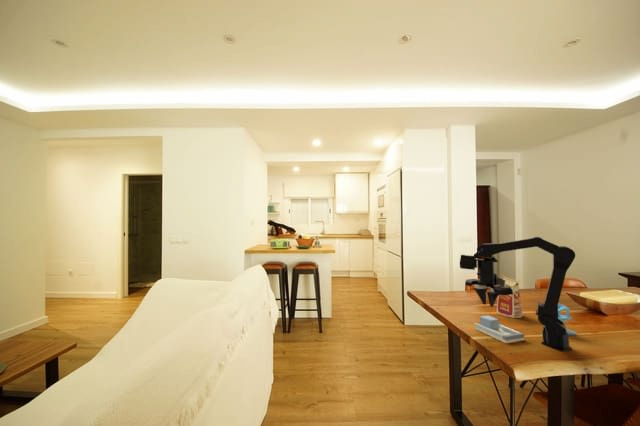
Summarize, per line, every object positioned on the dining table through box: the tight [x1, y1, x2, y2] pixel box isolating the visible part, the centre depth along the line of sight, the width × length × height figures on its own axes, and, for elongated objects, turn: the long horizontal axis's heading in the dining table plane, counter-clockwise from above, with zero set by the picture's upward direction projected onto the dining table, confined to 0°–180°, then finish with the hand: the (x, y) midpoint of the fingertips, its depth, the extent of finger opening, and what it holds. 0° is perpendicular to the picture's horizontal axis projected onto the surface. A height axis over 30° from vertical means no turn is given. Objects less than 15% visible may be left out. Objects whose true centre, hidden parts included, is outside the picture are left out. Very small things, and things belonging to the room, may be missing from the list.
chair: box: [558, 303, 577, 336], centre depth 104 cm, size 8×8×12 cm
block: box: [479, 315, 500, 330], centre depth 105 cm, size 5×5×4 cm
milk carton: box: [496, 275, 523, 319], centre depth 125 cm, size 9×9×20 cm
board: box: [474, 322, 525, 344], centre depth 101 cm, size 14×10×2 cm
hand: (488, 305), depth 106 cm, fingers open, 3 cm apart
